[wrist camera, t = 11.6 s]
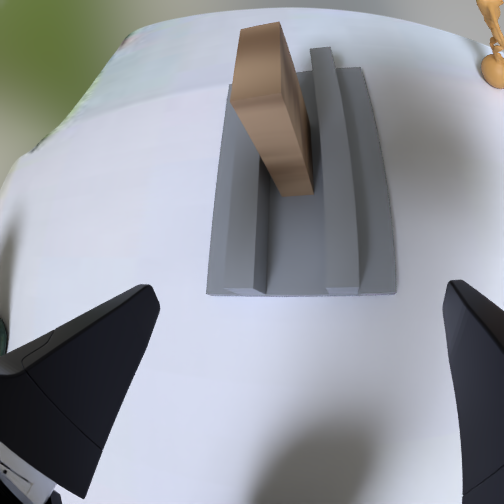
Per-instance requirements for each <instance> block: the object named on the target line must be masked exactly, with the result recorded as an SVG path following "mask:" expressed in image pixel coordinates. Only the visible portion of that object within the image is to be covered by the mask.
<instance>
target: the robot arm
mask: <svg viewBox="0 0 504 504" xmlns="http://www.w3.org/2000/svg"><path fill="white" fill-rule="evenodd" d="M159 312H160V304H159V301H158V299H157V297H156V294H155V292H154V290H153V287H152V286H151V285H148V284H140V285H137V286H135V287H133V288H131V289H129V290H127V291H126V292H124V293H122V294H120V295H118V296H116V297H114V298H112V299H110V300H108V301H106V302H105V303H103V304H101V305H99V306H97V307H95V308H93V309H91V310H89V311H88V312H86V313H84V314H82V315H80V316H78V317H76V318H75V319H73V320H71V321H69V322H67V323H65V324H63V325H62V326H60V327H58V328H56V329H55V330H52V331H50V332H49V333H47V334H45V335H43V336H41V337H39V338H37V339H35V340H33V341H31V342H29V343H27V344H25V345H23V346H21V347H19V348H17V349H15V350H13V351H11V352H9V353H7V354H5V355H3V356H0V504H62V501H61V496H60V494H59V493H58V492H56V491H55V490H54V488H55V486H56V485H57V484H58V485H60V486H61V487H63V488H65V489H66V490H68V491H70V492H71V493H73V494H75V495H77V496H78V497H80V498H82V499H84V498H85V497H86V495H87V492H88V489H89V486H90V483H91V481H92V478H93V475H94V473H95V470H96V467H97V465H98V462H99V459H100V457H101V454H102V452H103V449H104V446H105V444H106V441H107V439H108V436H109V434H110V431H111V429H112V426H113V424H114V421H115V419H116V417H117V414H118V412H119V409H120V407H121V405H122V402H123V400H124V398H125V395H126V393H127V391H128V389H129V386H130V384H131V382H132V379H133V377H134V375H135V373H136V370H137V368H138V366H139V364H140V362H141V359H142V357H143V355H144V353H145V351H146V348H147V346H148V343H149V340H150V337H151V334H152V331H153V329H154V326H155V323H156V320H157V317H158V315H159ZM443 318H444V324H445V332H446V340H447V349H448V357H449V363H450V369H451V374H452V379H453V385H454V391H455V397H456V404H457V411H458V419H459V428H460V439H461V452H462V475H463V495H464V496H463V497H462V504H504V311H503V310H502V309H501V308H499V307H498V306H497V305H495V304H494V303H493V302H492V301H490V300H489V299H488V298H486V297H485V296H484V295H482V294H481V293H480V292H478V291H477V290H476V289H474V288H473V287H471V286H470V285H469V284H467V283H466V282H465V281H463V280H450V281H449V282H448V284H447V288H446V293H445V298H444V302H443Z"/></svg>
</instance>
